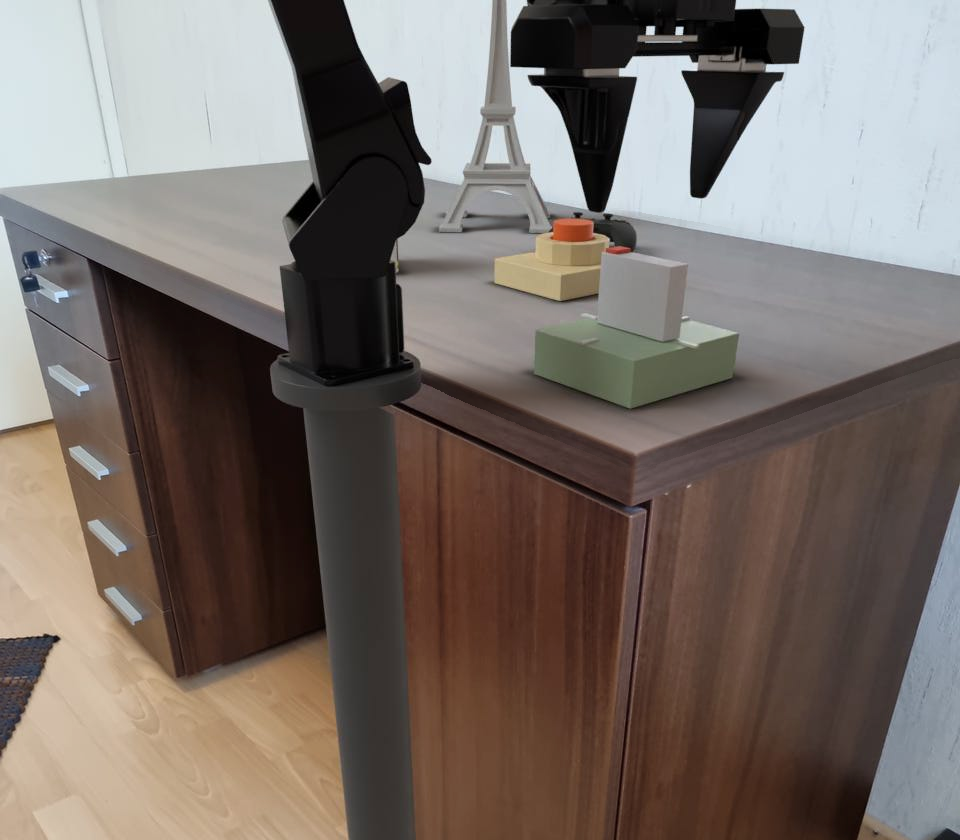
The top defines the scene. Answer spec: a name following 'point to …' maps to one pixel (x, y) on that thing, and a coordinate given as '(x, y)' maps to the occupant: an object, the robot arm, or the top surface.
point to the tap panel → (633, 360)
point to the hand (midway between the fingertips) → (649, 204)
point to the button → (573, 230)
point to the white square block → (641, 293)
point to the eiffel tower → (501, 113)
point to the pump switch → (555, 268)
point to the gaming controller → (613, 230)
